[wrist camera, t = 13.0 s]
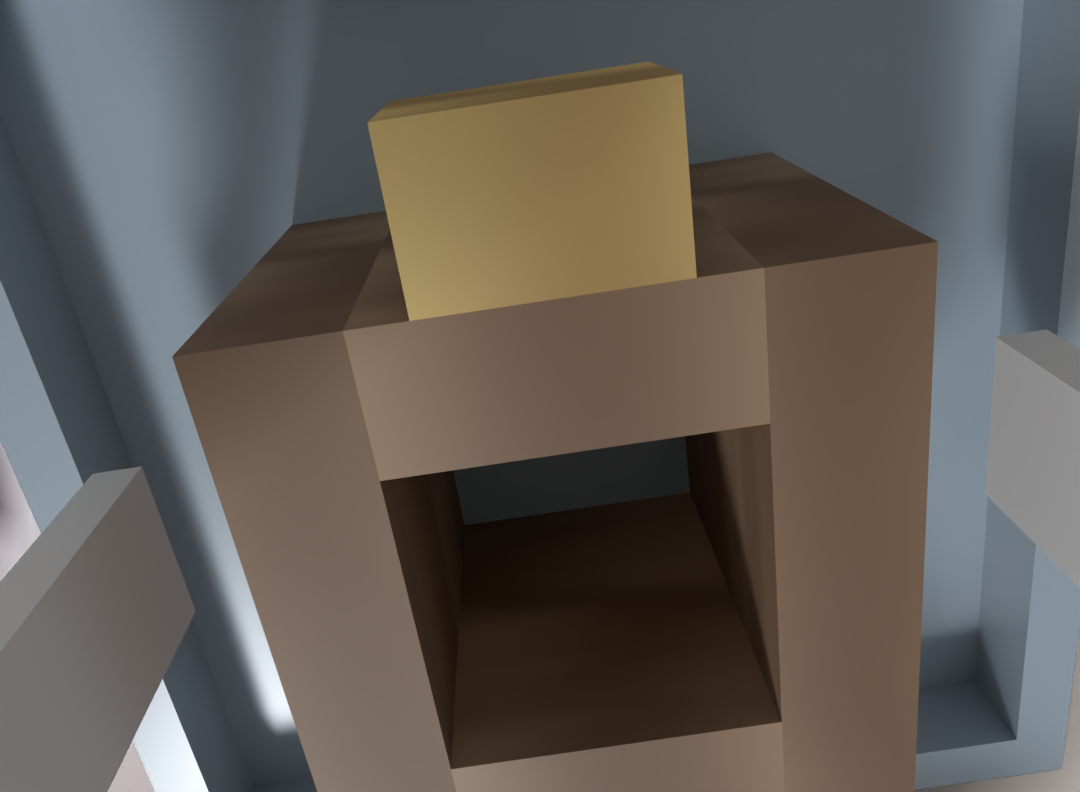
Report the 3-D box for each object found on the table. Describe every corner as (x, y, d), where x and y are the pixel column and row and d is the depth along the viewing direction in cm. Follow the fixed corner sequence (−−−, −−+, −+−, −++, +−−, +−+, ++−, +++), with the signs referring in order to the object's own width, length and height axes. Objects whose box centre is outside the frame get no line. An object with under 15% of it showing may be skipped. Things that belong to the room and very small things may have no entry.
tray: (232, 795, 21) (200, 893, 19) (-104, -59, 14) (-225, -71, 11) (998, 683, 21) (1061, 769, 18) (1079, -249, 13) (1200, -302, 11)
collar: (392, 613, 18) (347, 880, 12) (259, 99, 14) (106, 161, 8) (784, 556, 18) (913, 801, 12) (766, 21, 14) (946, 33, 8)
